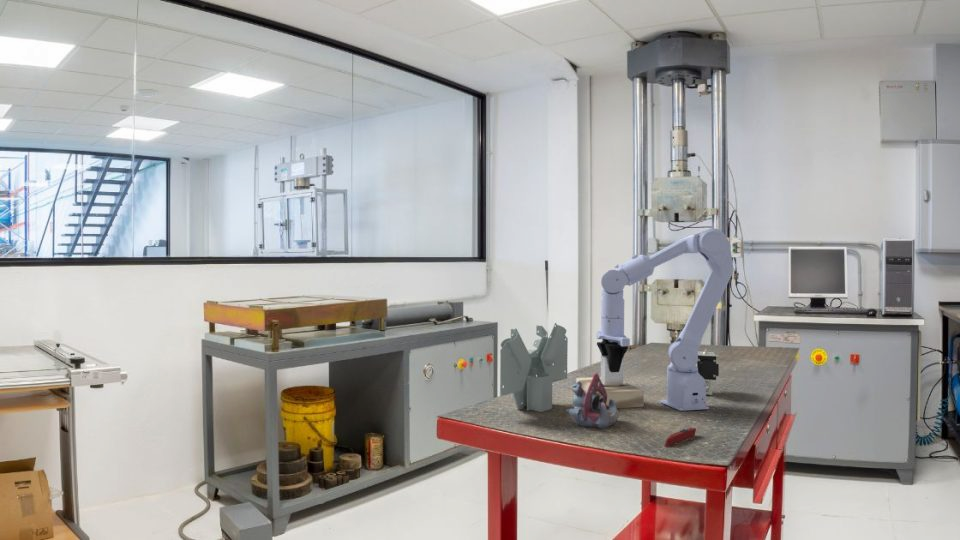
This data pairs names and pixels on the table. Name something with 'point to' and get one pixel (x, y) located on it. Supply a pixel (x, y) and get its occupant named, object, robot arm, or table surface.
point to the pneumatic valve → (708, 368)
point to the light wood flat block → (619, 393)
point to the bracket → (533, 368)
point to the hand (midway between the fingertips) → (611, 371)
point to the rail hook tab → (610, 373)
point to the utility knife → (680, 436)
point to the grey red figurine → (592, 405)
